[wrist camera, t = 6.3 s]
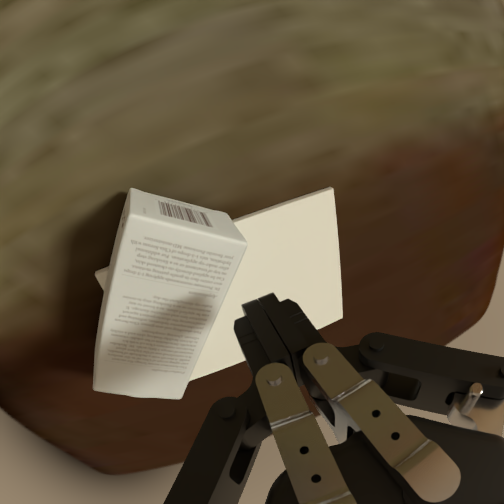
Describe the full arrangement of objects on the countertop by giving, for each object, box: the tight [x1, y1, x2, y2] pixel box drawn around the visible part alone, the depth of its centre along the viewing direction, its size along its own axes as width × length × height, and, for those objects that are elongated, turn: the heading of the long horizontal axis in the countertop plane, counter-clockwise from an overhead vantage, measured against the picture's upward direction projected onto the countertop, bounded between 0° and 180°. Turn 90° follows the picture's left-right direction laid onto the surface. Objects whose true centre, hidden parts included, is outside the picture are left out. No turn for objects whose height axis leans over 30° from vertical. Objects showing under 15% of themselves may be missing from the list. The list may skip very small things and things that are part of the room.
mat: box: [95, 187, 343, 381], centre depth 22 cm, size 12×16×1 cm
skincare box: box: [93, 188, 248, 399], centre depth 18 cm, size 6×4×12 cm
